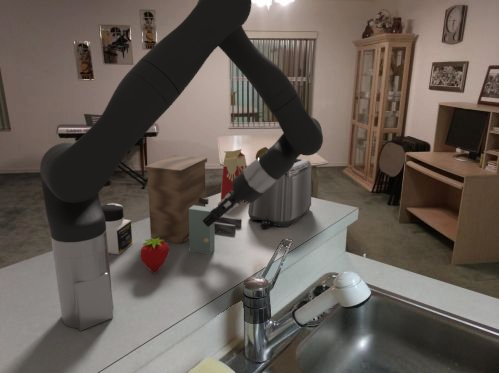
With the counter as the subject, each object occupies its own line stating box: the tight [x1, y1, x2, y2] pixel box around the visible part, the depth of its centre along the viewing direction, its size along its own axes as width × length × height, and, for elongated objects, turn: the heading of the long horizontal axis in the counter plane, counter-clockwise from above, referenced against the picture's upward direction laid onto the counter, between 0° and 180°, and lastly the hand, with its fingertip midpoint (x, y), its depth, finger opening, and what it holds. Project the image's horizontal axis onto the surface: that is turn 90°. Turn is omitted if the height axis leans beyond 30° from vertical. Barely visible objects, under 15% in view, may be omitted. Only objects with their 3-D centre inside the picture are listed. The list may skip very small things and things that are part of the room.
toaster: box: [247, 157, 313, 231], centre depth 125 cm, size 17×30×19 cm, turn 148°
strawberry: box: [139, 237, 170, 273], centre depth 88 cm, size 6×8×10 cm
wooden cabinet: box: [144, 154, 243, 244], centre depth 110 cm, size 22×18×21 cm
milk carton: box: [220, 148, 248, 203], centre depth 140 cm, size 9×9×20 cm
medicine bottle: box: [101, 203, 133, 255], centre depth 100 cm, size 7×7×12 cm
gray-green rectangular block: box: [188, 205, 216, 255], centre depth 99 cm, size 6×4×12 cm, turn 72°
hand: (212, 217), depth 97 cm, fingers open, 8 cm apart
